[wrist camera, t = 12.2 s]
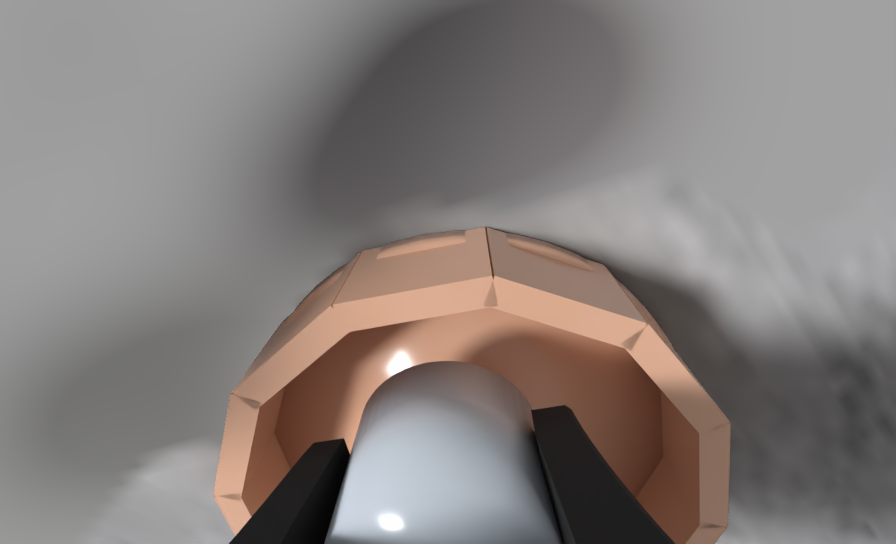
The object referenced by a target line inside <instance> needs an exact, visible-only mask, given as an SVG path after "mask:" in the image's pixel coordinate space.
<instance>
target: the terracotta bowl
mask: <svg viewBox="0 0 896 544" xmlns="http://www.w3.org/2000/svg"><path fill="white" fill-rule="evenodd" d="M436 361H457V362H466V363H470V364H475V365H478V366H481V367H484V368H487V369H490V370H492V371H494V372H496V373H498V374H500V375H501V376H503V377H504V378H506V379H507V380H509V381H510V382H511V383H513V384H514V385H515V386H516V387H517V388H518V389H519V390H520V391H521V392H522V393H523V395H524V396H525V397H526V399H527V400H528V402H529V403H530V405H531V407H532V409H533V410H535V409H542V408H548V407H555V406H562V405H566V406H567V407H569V408H570V409H572V411H573V413H574V415H575V416H576V418H577V420H578V421H579V423H580V425H581V426H582V428H583V429H584V431H585V432H586V434H587V435H588V437H589V438H590V440H591V441H592V443H593V444H594V446H595V447H596V448H597V450H598V451H599V452H600V454H601V455H602V456H603V458H604V459H605V461H606V462H607V463H608V465H609V466H610V467H611V468H612V470H613V471H614V472H615V474H616V475H617V476H618V477H619V479H620V480H621V481H622V482H623V483H624V485H625V486H626V487H627V488H628V490H629V491H630V492H631V493H632V494H633V496H634V497H635V498H636V499H637V500H638V502H639V503H640V504H641V505H642V507H643V508H644V509H645V510H646V511H647V512H648V514H649V515H650V516H651V517H652V518H653V519H654V520H655V522H656V523H657V524H658V525H659V526H660V527H661V528H662V530H663V531H664V532H665V533H666V534H667V535H668V536H669V537H670V538H671V539H672V540H673V542H674V543H675V544H715V542H716V541H717V540H718V539H719V537H720V536H721V535H722V534H723V532H724V531H725V530H726V529H727V526H728V504H729V470H730V435H731V423H730V421H729V420H728V419H727V417H726V416H725V415H724V413H723V412H722V411H721V410H720V408H719V407H718V406H717V404H716V403H715V402H714V400H713V399H712V398H711V397H710V395H709V394H708V393H707V391H706V390H705V389H704V388H703V386H702V385H701V384H700V382H699V381H698V380H697V378H696V377H695V376H694V375H693V373H692V372H691V371H690V369H689V368H688V367H687V365H686V364H685V363H684V362H683V360H682V359H681V358H680V356H679V355H678V354H677V353H676V351H675V350H674V348H673V346H672V344H671V342H670V341H669V340H668V338H667V337H666V335H665V334H664V332H663V331H662V329H661V328H660V327H659V325H658V324H657V322H656V321H655V320H654V318H653V317H652V316H651V314H650V313H649V312H648V311H647V309H646V308H645V307H644V306H643V304H642V303H641V302H640V301H639V300H638V299H637V298H636V297H635V296H634V295H633V294H632V293H631V292H630V291H629V290H628V289H627V288H626V287H625V286H624V285H623V284H622V283H621V282H619V281H618V280H617V279H616V278H615V277H614V276H613V275H612V274H611V272H610V271H609V270H608V269H607V268H606V266H604V265H603V264H600V263H597V262H594V261H591V260H588V259H585V258H583V257H581V256H580V255H578V254H576V253H574V252H571V251H569V250H566V249H564V248H561V247H559V246H556V245H554V244H551V243H549V242H545V241H541V240H537V239H533V238H529V237H525V236H522V235H518V234H510V233H504V232H501V231H498V230H495V229H492V228H489V227H486V230H485V227H481V228H476V229H471V230H465V231H447V232H439V233H431V234H423V235H419V236H415V237H411V238H407V239H404V240H400V241H396V242H392V243H390V244H387V245H385V246H382V247H378V248H372V249H367V250H363V251H361V252H360V253H359V254H358V255H356V256H355V257H354V258H353V259H352V260H351V261H350V262H349V263H347V264H345V265H344V266H342V267H340V268H339V269H337V270H336V271H335V272H333V273H332V274H331V275H330V276H328V277H327V278H326V279H324V280H323V281H322V282H321V283H319V284H318V285H317V286H316V287H315V288H314V289H313V290H312V291H311V292H310V293H309V294H308V295H307V296H306V297H305V298H304V299H303V301H302V302H301V303H300V304H299V305H298V306H297V308H296V309H295V311H294V312H293V313H292V314H291V315H290V316H288V317H287V318H286V319H285V320H284V321H283V322H282V323H281V324H280V326H279V327H278V329H277V330H276V331H275V333H274V334H273V335H272V337H271V338H270V340H269V341H268V342H267V344H266V345H265V347H264V348H263V349H262V351H261V352H260V353H259V355H258V356H257V358H256V359H255V360H254V362H253V363H252V364H251V366H250V367H249V369H248V370H247V372H246V373H245V374H244V376H243V377H242V378H241V380H240V381H239V383H238V384H237V385H236V387H235V388H234V389H233V391H232V392H231V395H230V400H229V406H228V412H227V419H226V424H225V429H224V435H223V441H222V447H221V453H220V459H219V465H218V470H217V476H216V482H215V488H214V494H213V495H214V498H215V500H216V502H217V504H218V505H219V507H220V509H221V511H222V513H223V514H224V516H225V518H226V520H227V522H228V524H229V525H230V527H231V529H232V531H233V533H234V534H235V536H236V535H237V534H238V532H239V531H240V530H241V529H242V528H243V527H244V525H245V524H246V523H247V522H248V521H249V519H250V518H251V517H252V516H253V515H254V513H255V512H256V511H257V510H258V509H259V507H260V506H261V505H262V504H263V503H264V501H265V500H266V499H267V498H268V497H269V495H270V494H271V493H272V492H273V490H274V489H275V488H276V487H277V486H278V484H279V483H280V482H281V481H282V479H283V478H284V477H285V476H286V475H287V473H288V472H289V471H290V470H291V468H292V467H293V466H294V465H295V464H296V462H297V461H298V460H299V459H300V458H301V456H302V455H303V454H304V453H305V452H306V451H307V449H308V448H309V447H310V446H311V445H312V444H313V443H315V442H322V441H328V440H335V439H342V438H344V440H345V442H346V445H347V448H348V450H349V453H350V454H351V450H352V447H353V443H354V440H355V437H356V433H357V430H358V426H359V423H360V419H361V416H362V413H363V410H364V408H365V405H366V403H367V401H368V400H369V398H370V396H371V395H372V394H373V393H374V391H375V390H376V389H377V388H378V387H379V386H380V385H381V384H382V383H383V382H384V381H386V380H387V379H388V378H390V377H391V376H393V375H394V374H396V373H398V372H400V371H402V370H404V369H407V368H410V367H412V366H415V365H419V364H423V363H428V362H436Z"/></svg>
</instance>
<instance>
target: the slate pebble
mask: <svg viewBox="0 0 896 544" xmlns="http://www.w3.org/2000/svg"><path fill="white" fill-rule="evenodd" d="M531 410H533V409H532V407H531V405H530V403H529V402H528V400H527V399H526V397H525V396H524V395H523V393H522V392H521V391H520V390H519V389H518V388H517V387H516V386H515V385H514V384H513V383H511V382H510V381H509V380H507V379H506V378H504V377H503V376H501V375H500V374H498V373H496V372H494V371H492V370H490V369H487V368H484V367H481V366H478V365H475V364H470V363H466V362H457V361H436V362H428V363H423V364H419V365H415V366H412V367H410V368H407V369H404V370H402V371H400V372H398V373H396V374H394V375H393V376H391V377H390V378H388V379H387V380H386V381H384V382H383V383H382V384H381V385H380V386H379V387H378V388H377V389H376V390H375V391H374V393H373V394H372V395H371V396H370V398H369V400H368V401H367V403H366V405H365V408H364V410H363V413H362V416H361V419H360V423H359V426H358V430H357V433H356V437H355V440H354V443H353V447H352V450H351V454H350V457H349V461H348V464H347V467H346V471H345V474H344V478H343V481H342V485H341V488H340V491H339V495H338V498H337V502H336V505H335V509H334V512H333V515H332V519H331V522H330V526H329V529H328V533H327V536H326V539H325V543H324V544H563V543H562V539H561V535H560V531H559V528H558V524H557V520H556V517H555V513H554V510H553V506H552V503H551V499H550V495H549V492H548V488H547V485H546V482H545V478H544V474H543V469H542V465H541V460H540V455H539V450H538V445H537V440H536V435H535V430H534V425H533V419H532V413H531Z"/></svg>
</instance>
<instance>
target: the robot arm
mask: <svg viewBox="0 0 896 544" xmlns="http://www.w3.org/2000/svg"><path fill="white" fill-rule="evenodd" d="M531 413H532V419H533V425H534V430H535V435H536V440H537V445H538V450H539V455H540V460H541V465H542V469H543V474H544V478H545V482H546V485H547V488H548V492H549V495H550V499H551V503H552V506H553V510H554V513H555V517H556V520H557V524H558V528H559V531H560V535H561V539H562V543H563V544H675V543H674V542H673V540H672V539H671V538H670V537H669V536H668V535H667V534H666V533H665V532H664V531H663V530H662V528H661V527H660V526H659V525H658V524H657V523H656V522H655V520H654V519H653V518H652V517H651V516H650V515H649V514H648V512H647V511H646V510H645V509H644V508H643V507H642V505H641V504H640V503H639V502H638V500H637V499H636V498H635V497H634V496H633V494H632V493H631V492H630V491H629V490H628V488H627V487H626V486H625V485H624V483H623V482H622V481H621V480H620V479H619V477H618V476H617V475H616V474H615V472H614V471H613V470H612V468H611V467H610V466H609V465H608V463H607V462H606V461H605V459H604V458H603V456H602V455H601V454H600V452H599V451H598V450H597V448H596V447H595V446H594V444H593V443H592V441H591V440H590V438H589V437H588V435H587V434H586V432H585V431H584V429H583V428H582V426H581V425H580V423H579V421H578V420H577V418H576V416H575V415H574V413H573V411H572V409H570V408H569V407H567V406H566V405H562V406H555V407H548V408H542V409H535V410H531ZM349 457H350V453H349V450H348V448H347V445H346V442H345V440H344V438H342V439H335V440H328V441H322V442H315V443H313V444H312V445H311V446H310V447H309V448H308V449H307V451H306V452H305V453H304V454H303V455H302V456H301V458H300V459H299V460H298V461H297V462H296V464H295V465H294V466H293V467H292V468H291V470H290V471H289V472H288V473H287V475H286V476H285V477H284V478H283V479H282V481H281V482H280V483H279V484H278V486H277V487H276V488H275V489H274V490H273V492H272V493H271V494H270V495H269V497H268V498H267V499H266V500H265V501H264V503H263V504H262V505H261V506H260V507H259V509H258V510H257V511H256V512H255V513H254V515H253V516H252V517H251V518H250V519H249V521H248V522H247V523H246V524H245V525H244V527H243V528H242V529H241V530H240V531H239V532H238V534H237V535H236V536H235V537H234V538H233V540H232V541H231V542H230V543H229V544H324V543H325V539H326V536H327V533H328V529H329V526H330V522H331V519H332V515H333V512H334V509H335V505H336V502H337V498H338V495H339V491H340V488H341V485H342V481H343V478H344V474H345V471H346V467H347V464H348V461H349Z"/></svg>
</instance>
